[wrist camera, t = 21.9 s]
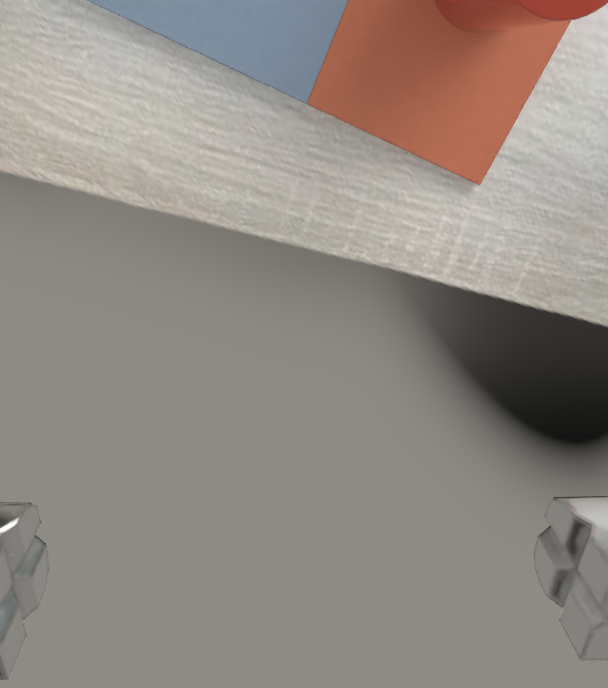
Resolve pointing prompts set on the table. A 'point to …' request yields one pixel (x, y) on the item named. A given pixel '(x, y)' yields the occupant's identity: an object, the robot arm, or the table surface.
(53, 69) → the table surface
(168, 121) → the table surface
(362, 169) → the table surface
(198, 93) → the table surface
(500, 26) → the red upright cylinder
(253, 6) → the sorting board
